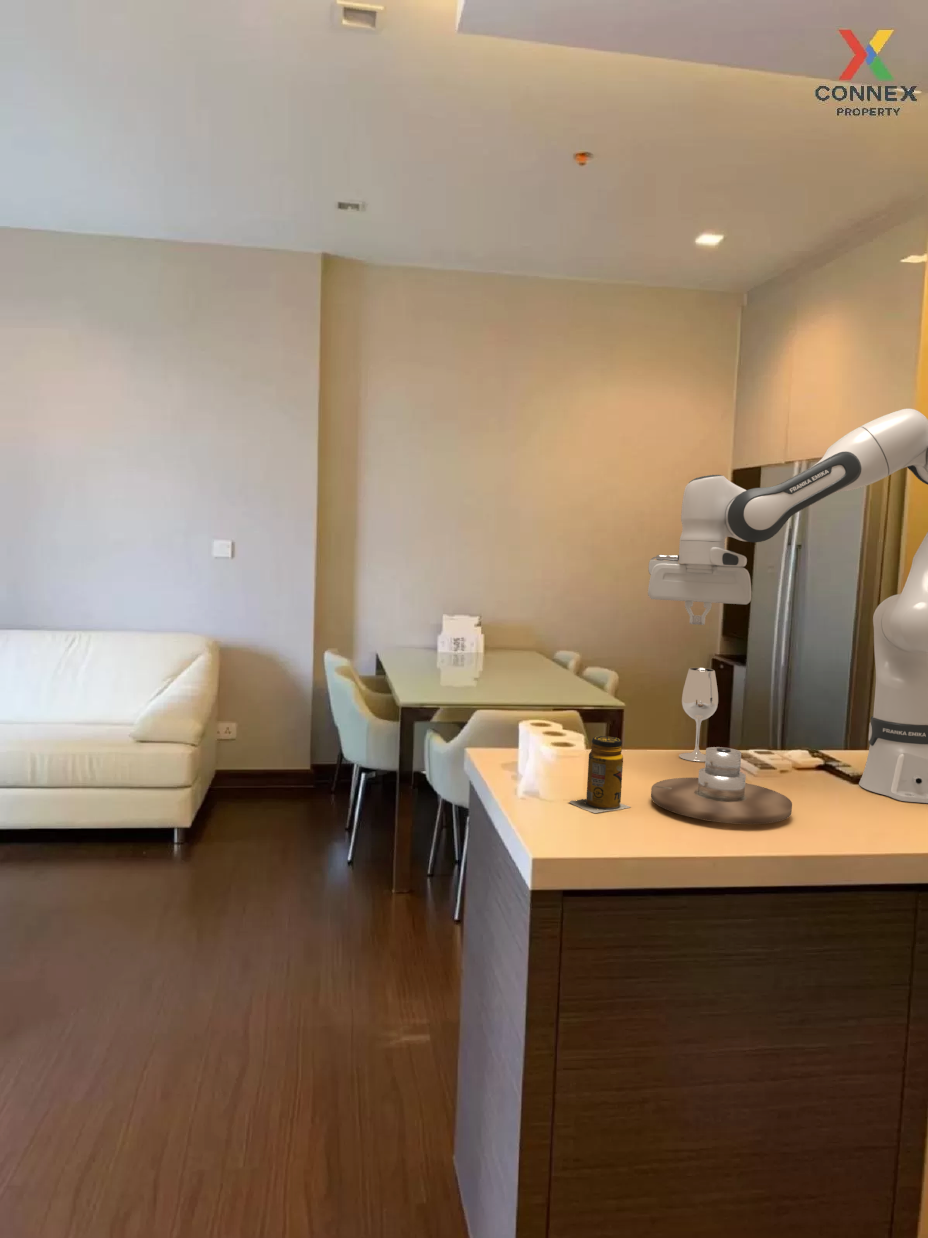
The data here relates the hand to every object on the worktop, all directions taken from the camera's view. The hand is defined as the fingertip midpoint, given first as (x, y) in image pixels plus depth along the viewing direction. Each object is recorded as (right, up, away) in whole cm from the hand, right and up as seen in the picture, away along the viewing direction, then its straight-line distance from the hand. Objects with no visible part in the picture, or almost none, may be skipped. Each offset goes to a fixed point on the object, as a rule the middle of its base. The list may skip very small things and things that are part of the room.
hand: (697, 624), depth 179 cm
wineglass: (+5, -30, +18) cm, 36 cm away
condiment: (-23, -32, -22) cm, 46 cm away
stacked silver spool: (-2, -30, -22) cm, 38 cm away
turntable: (-2, -32, -22) cm, 39 cm away
